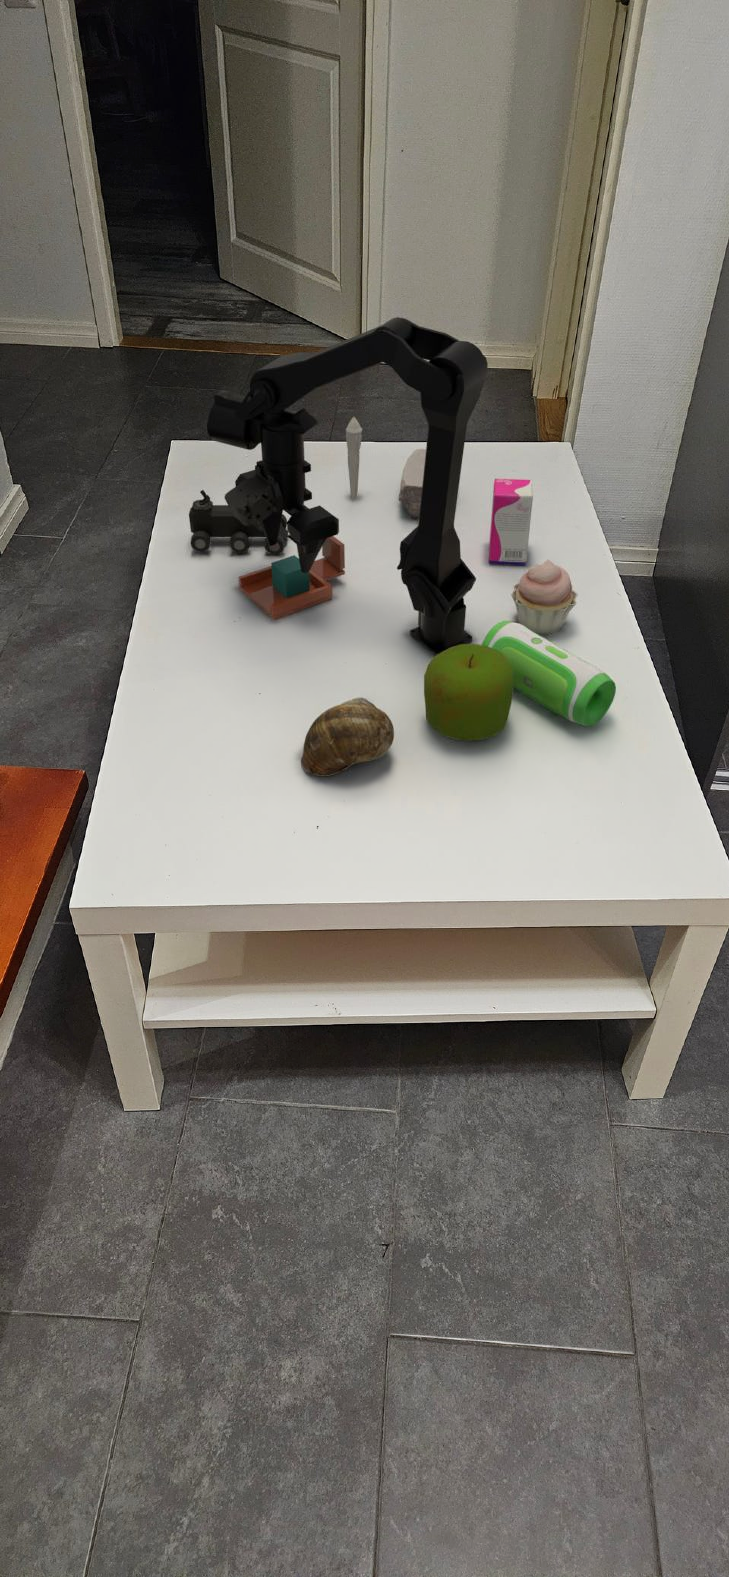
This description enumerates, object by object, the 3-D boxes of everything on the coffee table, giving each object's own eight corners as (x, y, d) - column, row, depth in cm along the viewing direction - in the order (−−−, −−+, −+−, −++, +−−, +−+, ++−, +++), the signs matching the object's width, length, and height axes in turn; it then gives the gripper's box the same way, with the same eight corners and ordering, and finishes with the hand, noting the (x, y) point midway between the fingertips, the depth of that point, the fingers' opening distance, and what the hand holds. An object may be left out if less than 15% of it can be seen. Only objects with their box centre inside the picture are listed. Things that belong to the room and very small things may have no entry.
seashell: (390, 732, 135) (391, 680, 129) (396, 781, 128) (397, 729, 123) (300, 735, 134) (297, 684, 129) (301, 785, 128) (298, 733, 122)
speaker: (474, 676, 143) (478, 629, 138) (512, 655, 147) (517, 608, 142) (576, 739, 134) (584, 691, 129) (613, 715, 137) (623, 667, 132)
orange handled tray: (354, 590, 159) (354, 551, 155) (273, 620, 153) (270, 580, 149) (318, 561, 165) (317, 523, 161) (239, 589, 160) (235, 550, 155)
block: (309, 590, 158) (308, 566, 155) (286, 598, 156) (285, 574, 154) (295, 578, 161) (294, 554, 158) (272, 586, 159) (270, 562, 156)
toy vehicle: (196, 529, 173) (190, 478, 167) (289, 529, 173) (286, 478, 167) (189, 555, 167) (183, 503, 161) (286, 555, 167) (283, 503, 161)
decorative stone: (449, 482, 185) (391, 481, 184) (453, 444, 180) (394, 443, 180) (459, 525, 174) (398, 524, 174) (463, 485, 170) (401, 485, 169)
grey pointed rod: (351, 492, 182) (350, 412, 172) (365, 496, 181) (365, 415, 171) (343, 498, 180) (342, 417, 171) (357, 502, 179) (356, 421, 170)
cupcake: (569, 604, 156) (578, 543, 149) (577, 641, 149) (587, 579, 143) (504, 604, 156) (511, 543, 150) (510, 641, 149) (517, 578, 143)
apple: (485, 690, 141) (491, 620, 134) (525, 738, 134) (534, 667, 127) (408, 710, 138) (410, 639, 131) (444, 761, 131) (448, 689, 123)
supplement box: (525, 546, 168) (533, 478, 161) (526, 566, 164) (533, 497, 156) (488, 545, 169) (494, 476, 161) (487, 564, 165) (493, 495, 157)
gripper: (197, 445, 147) (208, 547, 158) (266, 499, 136) (273, 605, 146) (267, 426, 152) (274, 526, 162) (340, 476, 140) (342, 580, 151)
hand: (288, 558), depth 155 cm, fingers open, 9 cm apart
